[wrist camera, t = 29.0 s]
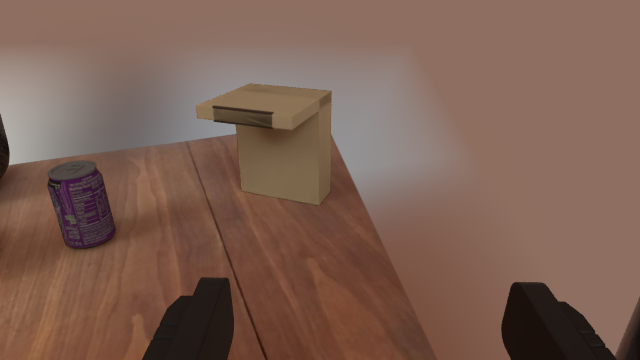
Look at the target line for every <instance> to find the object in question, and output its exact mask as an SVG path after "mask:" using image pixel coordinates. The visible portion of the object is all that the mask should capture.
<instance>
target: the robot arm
mask: <svg viewBox="0 0 640 360" xmlns="http://www.w3.org/2000/svg"><path fill="white" fill-rule="evenodd" d="M501 330H502V339H503V343H504V346H505V348H506V350H507V352H508V354H509V356H510V358H511V360H640V298H639V300H638V302H637V305H636V307H635V309H634V312H633V314H632V316H631V319H630V321H629V324H628V326H627V329H626V331H625V333H624V336H623V338H622V341H621V343H620V345H619V347H618V350H617V352H616V355H615V357H614V355H613V354H612V353H611V351H610V350H609V349H608V348H606V347H605V344H604V343H603V341H602V340H601V338H600V337H599V336H598V335H597V334H595V330H594V329H593V328H592V327H591V325H590V324H589V323H588V321H587V320H586V319H585V317H584V316H583V315H582V314H580V313H579V312H578V311H577V310H575V309H574V308H573V307H571V306H570V305H569V304H567V303H566V302H558V301H557V299H556V298H555V297H554V295H553V294H552V292H551V291H550V290H549V288H548V287H547V286H546V285H545V284H544V283H538V282H515V283H513V284H512V286H511V288H510V292H509V297H508V300H507V305H506V309H505V312H504V316H503V321H502V327H501ZM233 332H234V316H233V307H232V298H231V290H230V282H229V279H228V278H205V277H202V278H201V279H200V280H199V282H198V285H197V287H196V289H195V292H194V294H193V296H180V297H179V298H178V299H177V300H176V301H175V302H174V303H173V304H172V305H171V306H170V307H169V308H167V310H166V312H165V314H164V316H163V318H162V320H161V322H160V326H159V327H158V328H157V330H156V332H155V334H154V336H153V340H151V342H150V344H149V346H148V348H147V351H146V353H145V355H144V357H143V359H142V360H227V358H228V354H229V351H230V347H231V343H232V339H233Z"/></svg>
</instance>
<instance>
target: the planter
mask: <svg viewBox="0 0 640 360" xmlns="http://www.w3.org/2000/svg"><path fill="white" fill-rule="evenodd" d="M8 165H9V146H8V141H7V137H6V133H5V129H4V126H3V122H2V118H1V115H0V179H1V178H2V177H3V175H4V174H5V172H6V170H7V168H8Z"/></svg>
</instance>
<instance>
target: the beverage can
mask: <svg viewBox="0 0 640 360" xmlns="http://www.w3.org/2000/svg"><path fill="white" fill-rule="evenodd" d="M48 176H49V181H48V190H49V193H50V196H51V199H52V202H53V206H54V209H55V212H56V215H57V219H58V222H59V225H60V228H61V232H62V235H63V238H64V241H65V244H66V245H68V246H70V247H75V248H88V247H93V246H96V245H99V244H101V243H103V242H104V241H106V240H108V239H109V238H110V237H112V236H113V234H114V233H115V225H114V221H113V217H112V213H111V209H110V205H109V201H108V197H107V193H106V189H105V185H104V181H103V177H102V174H101V173H100V172H99V171H98V170H97V168H96V164H95V163H94V162H91V161H74V162H68V163H64V164H61V165H58V166H56V167H53V168H52V169H50V170H49V171H48Z"/></svg>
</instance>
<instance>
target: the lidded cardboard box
mask: <svg viewBox="0 0 640 360" xmlns="http://www.w3.org/2000/svg"><path fill="white" fill-rule="evenodd" d="M196 113H197V118H200V119H208V120H214V122H221V123H229V124H236V132H237V144H238V155H239V166H240V177H241V188H242V191H243V192H249V193H254V194H260V195H265V196H270V197H276V198H281V199H286V200H292V201H297V202H302V203H308V204H313V205H318V206H319V205H320V204H321V203H322V201H323V200H324V199H325V198H326V196H327V195H328V194H329V193H330V170H331V91H327V90H317V89H306V88H294V87H283V86H272V85H261V84H248V85H245V86H243V87H240V88H238V89H236V90H233V91H231V92H228V93H226V94H223V95H221V96H218V97H216V98H213V99H211V100H208V101H206V102H204V103H201V104H199V105H196Z"/></svg>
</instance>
